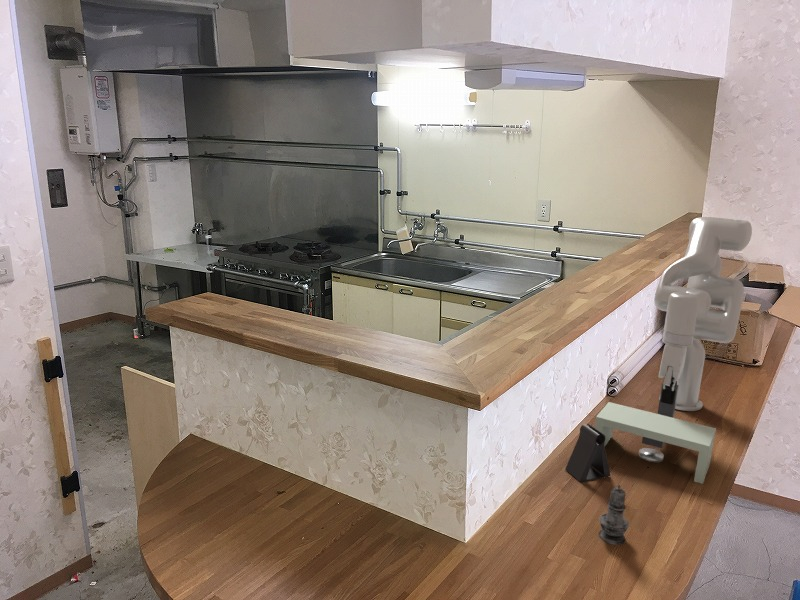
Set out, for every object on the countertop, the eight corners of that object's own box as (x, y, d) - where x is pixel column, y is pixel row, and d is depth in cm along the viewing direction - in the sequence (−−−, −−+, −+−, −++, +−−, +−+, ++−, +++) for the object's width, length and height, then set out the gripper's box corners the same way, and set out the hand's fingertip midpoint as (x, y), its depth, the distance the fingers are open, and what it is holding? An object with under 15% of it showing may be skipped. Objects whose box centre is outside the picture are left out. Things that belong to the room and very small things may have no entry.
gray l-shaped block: (655, 421, 182) (661, 381, 179) (674, 426, 179) (680, 385, 176) (641, 443, 168) (648, 400, 165) (661, 448, 165) (668, 405, 162)
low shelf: (604, 435, 179) (608, 401, 177) (709, 464, 166) (716, 428, 163) (591, 451, 170) (596, 416, 167) (702, 483, 156) (709, 446, 153)
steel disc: (641, 449, 173) (642, 445, 172) (665, 456, 169) (665, 452, 169) (636, 458, 168) (636, 454, 167) (660, 465, 165) (661, 461, 164)
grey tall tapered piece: (623, 549, 130) (630, 496, 126) (593, 538, 132) (600, 486, 129) (629, 534, 134) (637, 483, 131) (601, 525, 137) (608, 474, 134)
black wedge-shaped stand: (595, 465, 163) (600, 421, 160) (610, 476, 157) (616, 431, 154) (564, 470, 160) (570, 425, 157) (579, 482, 154) (585, 436, 151)
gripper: (668, 329, 182) (659, 390, 187) (657, 342, 169) (647, 407, 174) (697, 334, 178) (687, 396, 183) (687, 347, 165) (676, 414, 170)
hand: (667, 401), depth 178 cm, fingers closed on gray l-shaped block
